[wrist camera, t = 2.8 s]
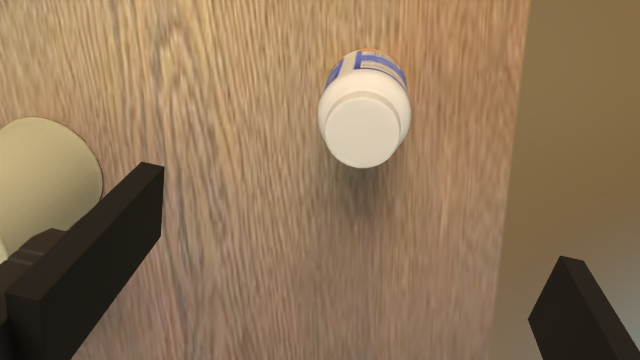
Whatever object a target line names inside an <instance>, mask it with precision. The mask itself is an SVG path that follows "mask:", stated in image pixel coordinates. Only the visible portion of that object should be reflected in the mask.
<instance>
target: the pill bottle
mask: <svg viewBox="0 0 640 360" xmlns="http://www.w3.org/2000/svg"><path fill="white" fill-rule="evenodd" d="M410 120H411V108H410V102H409V96H408V90H407V84H406V79H405V75H404V73H403V70H402V69H401V67H400V65H399V64H398V63H397V61H396V60H395V59H394V58H393V57H391V56H390V55H388V54H387V53H385V52H382V51H380V50H376V49H360V50H356V51H353V52H351V53H349V54H347V55H345V56H344V57H342V58H341V59H340V60H339V61H338V62H337V63H336V65H335V66H334V67H333V69H332V71H331V73H330V75H329V78H328V81H327V83H326V86H325V88H324V91H323V94H322V96H321V99H320V102H319V106H318V125H319V129H320V132H321V134H322V137H323V138H324V140H325V141H326V144H327V146H328V148H329V150H330V152H331V153H332V154H333V155H334V157H335V158H337V159H338V160H339V161H340V162H342V163H344V164H346V165H348V166H351V167H355V168H370V167H374V166H377V165H379V164H381V163H383V162H385V161H386V160H387V159H388V158H389V157H391V155H392V154H393V153H394V151H395V150H396V148H398V146H399V145H400V144H401V143H402V141H403V140H404V138H405V137H406V135H407V132H408V130H409V126H410Z"/></svg>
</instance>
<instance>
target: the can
mask: <svg viewBox="0 0 640 360" xmlns="http://www.w3.org/2000/svg"><path fill="white" fill-rule="evenodd" d="M102 186H103V181H102V173H101V170H100V166H99V164H98V161H97V159H96V157H95V156H94V154H93V152H92V151H91V149H90V148H89V147H88V146H87V144H86V143H85V142H84V141H83V140H82V139H81V138H80V137H79V136H78V135H76V134H75V133H74V132H73V131H71V130H70V129H68V128H67V127H65V126H63V125H61V124H59V123H57V122H54V121H51V120H48V119H44V118H38V117H26V118H20V119H17V120H14V121H12V122H10V123H8V124H7V125H5V126H4V127H3V128H2V129H1V130H0V264H1V263H2V262H3V261H4V260H7V259H8V257H9V256H10V255H11V254H13V253H14V252H15V251H16V250H17V251H18V250H19V248H20V247H21V246H22V245H23V244H24V243H25V242H26V241H28V240H29V239H30V238H31V237H32V236H34V235H37V234H39V233H41V232H43V231H46V230H48V229H50V228H54V229H59V230H63V231H66V230H68V229H69V228H70V227H71V226H72V225H73V224H74V223H75V222H76V221H77V220H79V219H80V218H81V217H82V216H84V215H86V214H87V213H88V212H89V211H90V210H91V209H92V208H93V207H94V206H95V205H96V204H97V203H98V201H99V199H100V196H101V193H102Z"/></svg>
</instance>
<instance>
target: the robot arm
mask: <svg viewBox="0 0 640 360" xmlns="http://www.w3.org/2000/svg"><path fill="white" fill-rule="evenodd" d="M163 186H164V167H163V166H159V165H154V164H150V163H145V162H141V163H140V164H139V165H138V166H137V167H136V168H134V169H133V170H132V171H131V172H130V173H129V174H128V175H127V176H126V177H125V178H124V179H123V180H122V181H121V182H120V183H119V184H118V185H117V186H115V187H114V188H113V189H112V190H111V191H110V192H109V193H108V194H107V195H106V196H105V197H104V198H103V199H102V200H101V201H100V202H99V203H97V204H96V205H95V206H94V207H93V208H92V209H91V210H90V211H89V212H88V213H87V214H86V215H85V216H84V217H83V218H82V219H81V220H80V221H78V222H77V223H76V224H75V225H74V226H73V227H72V228H71V229H70V230H69V231H68V232H67V231H63V230H59V229H54V228H50V229H48V230H46V231H43V232H41V233H39V234H37V235H34V236H32V237H31V238H30V239H29V240H28V241H26V242H25V243H24V244H23V245H22V246H21V247H20V248H19V250H18V251H17V250H16V251H15V252H14V253H13V254H11V255H10V256H9V257H8V259H7V260H4V261H3V262H2V263H1V264H0V360H70V359H71V358H72V357H73V355H74V354H75V353H76V351H77V350H78V349H79V347H80V346H81V344H82V343H83V342H84V340H85V339H86V338H87V336H88V335H89V334H90V332H91V331H92V329H93V328H94V327H95V325H96V324H97V323H98V321H99V320H100V319H101V317H102V316H103V314H104V313H105V312H106V310H107V309H108V308H109V306H110V305H111V303H112V302H113V301H114V299H115V298H116V297H117V295H118V294H119V293H120V291H121V290H122V288H123V287H124V286H125V284H126V283H127V282H128V280H129V279H130V278H131V276H132V275H133V273H134V272H135V271H136V269H137V268H138V267H139V265H140V264H141V263H142V261H143V260H144V258H145V257H146V256H147V254H148V253H149V252H150V250H151V249H152V248H153V246H154V245H155V243H156V242H157V241H158V239H159V238H160V237H161V223H162V204H163ZM528 321H529V324H530V326H531V329H532V331H533V334H534V337H535V339H536V342H537V345H538V347H539V350H540V353H541V355H542V358H543V360H640V351H639V350H638V348H637V347H636V345H635V343H634V342H633V340H632V339H631V337H630V335H629V334H628V332H627V330H626V329H625V327H624V325H623V324H622V322H621V321H620V319H619V317H618V316H617V314H616V313H615V311H614V309H613V308H612V306H611V304H610V303H609V301H608V300H607V298H606V296H605V295H604V293H603V291H602V290H601V288H600V287H599V285H598V284H597V282H596V280H595V279H594V277H593V275H592V274H591V272H590V270H589V269H588V267H587V266H586V264H585V262H584V261H582V260H578V259H573V258H569V257H565V256H560V257H559V259H558V261H557V263H556V265H555V267H554V269H553V271H552V273H551V275H550V277H549V279H548V281H547V282H546V284H545V286H544V288H543V291H542V292H541V294H540V296H539V298H538V300H537V302H536V304H535V307H534V308H533V310H532V312H531V314H530V316H529V318H528Z"/></svg>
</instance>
